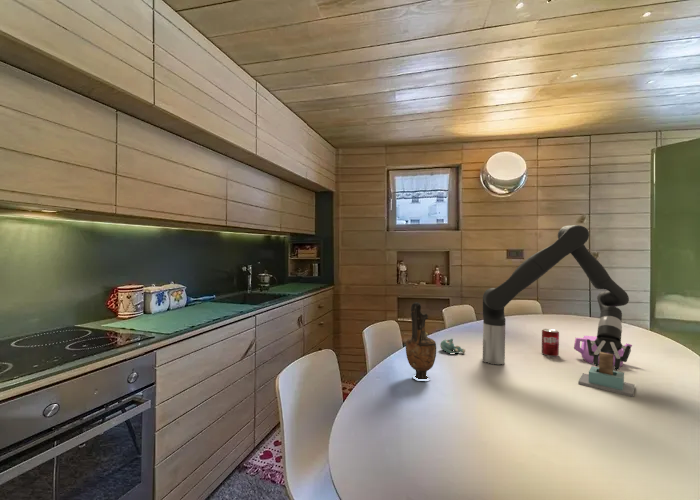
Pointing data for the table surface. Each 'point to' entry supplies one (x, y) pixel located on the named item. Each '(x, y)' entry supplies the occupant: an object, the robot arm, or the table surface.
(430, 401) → the table surface
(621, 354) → the teakettle
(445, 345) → the stuffed animal
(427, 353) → the vase
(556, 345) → the soda can
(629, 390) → the teal and grey socket
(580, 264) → the robot arm
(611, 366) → the block
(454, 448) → the table surface
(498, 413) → the table surface
